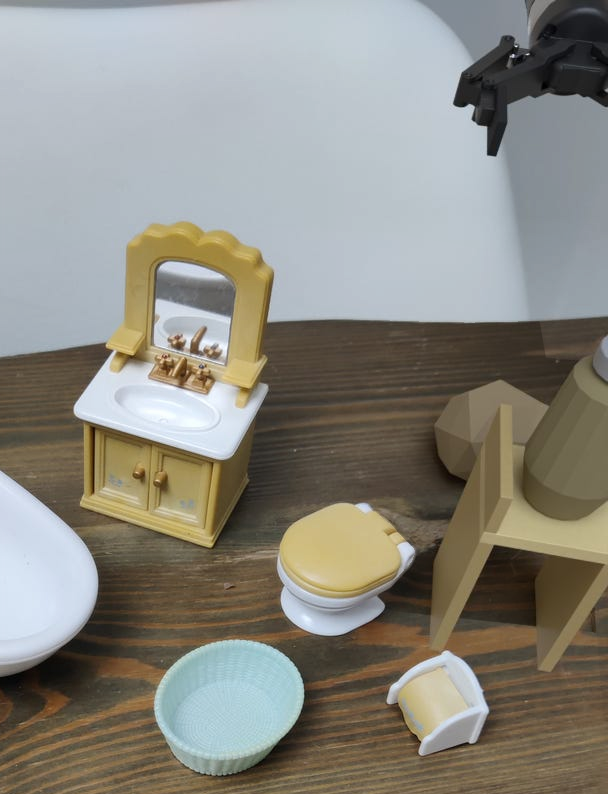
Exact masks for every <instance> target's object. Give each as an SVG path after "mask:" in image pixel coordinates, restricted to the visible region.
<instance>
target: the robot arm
mask: <svg viewBox="0 0 608 794" xmlns="http://www.w3.org/2000/svg"><path fill="white" fill-rule="evenodd" d="M524 4H525V9H526V17H527V18H526V20H527V21H526V22H527V42H528V43H527V44H528V48H525V47H520V44H519V43H517V42H516V38H515V37H514V36H513V35H511V34H506V35H505V34H504V35H502V36H501V37H500V40H499V44H498V45H497V46H495V47H494V48H493V49H491V50H490V51H489V52H487V53H485V55H483V56H482V57H480V58H479V59H478V60H476V61H475V62H474V63H472V64H471V65H470V66H468V67H467V68H466V69H464V70H463V71H462V72H461V73H460V77H459V79H458V83H457V86H456V91H455V95H454V97H453V100H452V105H453V106H454V107H456V108H466V107H468V106H469V105H471V106H473V107H474V108H473V112H472V115H471V118H470V119H471V121H472V122H473V123H475V124H476V125H477V126H479V127H486V156H487V157H497V156H498V154H499V150H500V147H501V144H502V141H503V138H504V135H505V132H506V128H507V126H508V123H509V121H508V119H509V118H508V116H509V115H508V105H511V104H513V103H515V102H518V101H520V100H523V99H525V98H528V97H531V98H532V99H537V98H539V97H542V96H545V95H546V94H550V95H554V96H558V97H559V96H560V97H569V96H575V95H579V96H580V97H581V98H589V99H591V100H593V101H594V102H596V103H598V104H599V105H600V106H602V107H604V108H608V91H606V90H607V89H608V0H524Z"/></svg>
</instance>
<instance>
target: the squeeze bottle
mask: <svg viewBox="0 0 608 794" xmlns="http://www.w3.org/2000/svg"><path fill="white" fill-rule="evenodd" d="M548 406H549V408H548V409H547V411H546V412H545V414H544V416H543V417H542V419H541V420H540V422H539V424H538V425H537V427H536V428H535V430H534V432H533V433H532V435H531V436H530V438H529V440H528V441H527V443H526V445H525V451H524V457H523V492H524V495H525V497H526V499H527V501H528V502H529V503H530V504H531V505H532V506H533V507H534V508H535V509H536V510H538V511H540V512H542V513H544V514H545V515H547V516H549V517H553V518H557V519H561V520H578V519H581V518H583V517H586V516H588V515H590V514H591V513H592V512H594V511H595V510H596V509H598V508H599V507H600V506H602V505H603V504H604V503H606V502H607V501H608V334H606V335H605V336H604V338H603V339H602V340H601V341H600V343H599V345H598V347H597V348H596V351H595V353H592V354H590V355H586V356H583V357H582V358H581V359H579V361H577V363H576V364H575V365H573V367H572V369H571V370H570V373H569V374H568V375H567V377H566V379H565V380H564V382H563V384H562V385H561V387H560V388H559V390H558V391H557V393H556V395H555V396H554V398H553V399H552V401H551V403H550V404H549V405H548Z"/></svg>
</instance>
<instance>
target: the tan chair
mask: <svg viewBox="0 0 608 794" xmlns="http://www.w3.org/2000/svg"><path fill="white" fill-rule="evenodd" d="M524 451H525V447H524V446H518V445H513V431H512V406H511V405H506V404H500V406H499V408H498V410H497V413H496V415H495V417H494V420H493V422H492V425H491V427H490V429H489V432H488V434H487V436H486V439H485V441H484V443H483V446H482V448H481V451H480V453H479V455H478V458H477V460H476V462H475V465H474V467H473V469H472V472H471V474H470V477H469V479H468V481H466V484H465V486H464V489H463V491H462V493H461V496H460V498H459V501H458V503H457V505H456V508H455V510H454V512H453V515H452V517H451V519H450V522H449V524H448V526H447V529H446V531H445V533H444V536H443V538H442V541H441V543H440V546H439V548H438V550H437V553H436V555H435V557H434V561H433V566H432V567H433V568H432V586H431V590H432V591H431V603H430V604H431V606H430V625H429V626H430V627H429V645H428V649H429V650H430V651H435V652H441V653H442V652H443V651H444V649H445V647H446V644H447V643H448V642H449V641H448V640H449V638H450V636H451V635H452V633H453V630H454V628H455V626H456V624H457V622H458V620H459V618H460V616H461V614H462V613H463V609H464V608H465V606H466V603H467V601H468V599H469V598H470V595H471V593H472V592H473V589H474V588H475V585H476V583H477V580H478V578H479V577H480V575H481V572H482V571H483V569H484V566H485V564H486V563H487V561H488V558H489V557H490V554H491V553H492V551H493V548H494V546H500V547H505V548H511V549H517V550H523V551H529V552H534V553H540V554H546V555H548V556H547V558H546V559H545V561H544V563H543V565H542V567H541V568H540V570H539V572H538V574H537V576H536V577H535V580H534V591H535V592H534V594H535V596H534V597H535V599H534V600H535V629H536V630H535V632H536V664H537V671H542V672H547V673H551V672H552V671H553V670H554V668H555V666H556V665H557V663H558V662H559V661H560V659H561V657H562V656H563V654H564V653H565V651H566V650H567V648H568V647H569V645H570V644H571V642H572V641H573V639H574V637H575V636H576V635H577V633H578V632H579V630H580V629H581V627H582V626H583V624H584V622H585V621H586V620H587V618H588V616H589V615H590V613H591V612H592V610H593V609H594V607H595V606H596V604H597V603H598V601H599V600H600V598H601V597H602V595H603V594H604V592H605V591H606V589H607V587H608V501H607V502H606V503H604V504H603V505H602V506H600V507H599V508H598V509H596V510H595V511H594V512H592V513H591V514H590V515H588V516H586V517H583V518H581V519H578V520H561V519H557V518H553V517H549V516H547V515H545V514H544V513H542V512H540V511H538V510H536V509H535V508H534V507H533V506H532V505H531V504H530V503H529V502H528V501H527V499H526V497H525V495H524V492H523V457H524Z"/></svg>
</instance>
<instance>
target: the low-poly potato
mask: <svg viewBox="0 0 608 794" xmlns="http://www.w3.org/2000/svg"><path fill="white" fill-rule="evenodd" d="M500 404H506V405H511V406H512V431H513V445H518V446H524V447H525V445H526V443H527V441H528V440H529V438H530V436H531V435H532V433H533V432H534V430H535V428H536V427H537V425H538V424H539V422H540V420H541V419H542V417H543V416H544V414H545V412H546V411H547V409H548V408H549V406H550V405H547V404H545V403H543V402H541V401H540V400H538V399H536V398H535V397H532V396H530V395H529V394H527V393H525V392H524V391H522V390H520V389H518V388H516V387H515V386H514V385H512V384H509V383H508V382H507V381H504V380H502V379H498V380H496V381H492V382H490V383H487V384H485V385H481V386H479V387H476V388H474V389H471V390H468V391H466V392H463V393H460V394H458V395H455V396H453V397H451V398H450V400H449V401H448V402H447V404H446V406H445V408H444V409H443V411H442V412H441V414H440V415H439V417H438V419H437V420H436V421H435V423H434V425H433V427H434V435H435V440H436V447H437V453H438V457H439V459H440V460H441V462H442V463H443V465H444V466H445V468H446V469H447V470H448V472H449V474H451V475H452V476H456V477H458V478H460V479H462V480H464V481H466V482H467V481H468V479H469V477H470V474H471V472H472V469H473V467H474V465H475V462H476V460H477V458H478V455H479V453H480V451H481V448H482V446H483V443H484V441H485V439H486V436H487V434H488V432H489V429H490V427H491V425H492V422H493V420H494V417H495V415H496V413H497V410H498V408H499V406H500Z"/></svg>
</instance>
